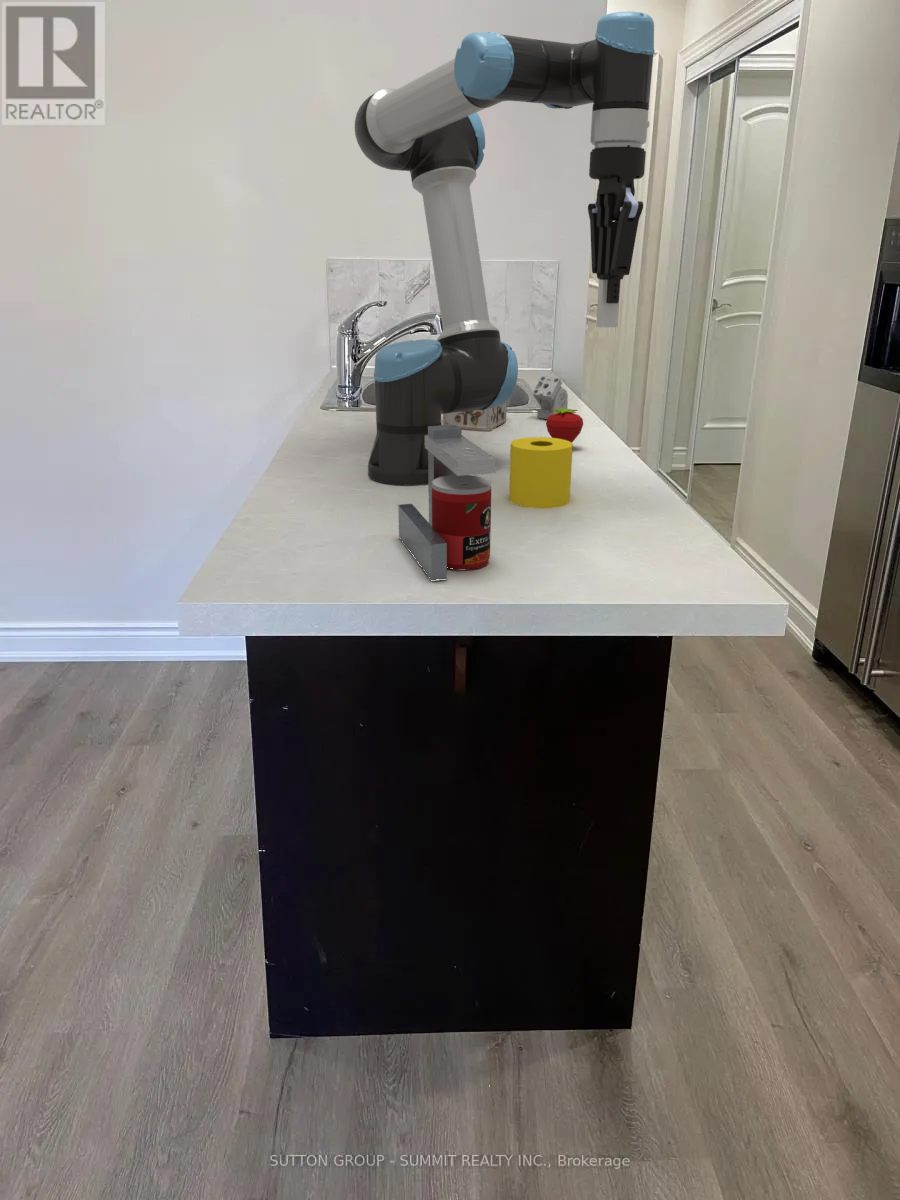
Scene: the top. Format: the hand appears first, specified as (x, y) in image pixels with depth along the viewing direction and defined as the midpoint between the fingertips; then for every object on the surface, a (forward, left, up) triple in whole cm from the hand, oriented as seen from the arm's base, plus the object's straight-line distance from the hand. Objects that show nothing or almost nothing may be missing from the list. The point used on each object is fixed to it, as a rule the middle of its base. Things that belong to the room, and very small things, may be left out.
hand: (606, 326), depth 132 cm
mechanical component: (-22, +74, -29) cm, 83 cm away
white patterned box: (-37, +62, -29) cm, 78 cm away
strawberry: (-13, +43, -29) cm, 53 cm away
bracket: (-16, -25, -28) cm, 41 cm away
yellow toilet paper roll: (-10, +5, -29) cm, 31 cm away
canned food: (-14, -28, -29) cm, 42 cm away
